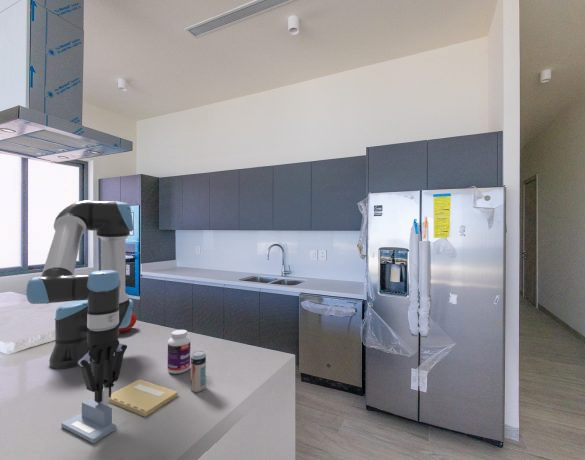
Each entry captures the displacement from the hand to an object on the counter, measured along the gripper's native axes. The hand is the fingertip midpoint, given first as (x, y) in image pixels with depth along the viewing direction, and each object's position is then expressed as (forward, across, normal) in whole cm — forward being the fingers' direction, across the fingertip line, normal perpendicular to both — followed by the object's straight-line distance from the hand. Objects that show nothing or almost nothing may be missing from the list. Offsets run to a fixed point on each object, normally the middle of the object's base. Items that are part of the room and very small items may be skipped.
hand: (102, 411), depth 83 cm
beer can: (+3, +24, -12) cm, 27 cm away
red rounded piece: (+3, +49, +64) cm, 80 cm away
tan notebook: (+3, +12, 0) cm, 13 cm away
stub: (+2, -4, 0) cm, 4 cm away
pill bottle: (+3, +31, +4) cm, 32 cm away
